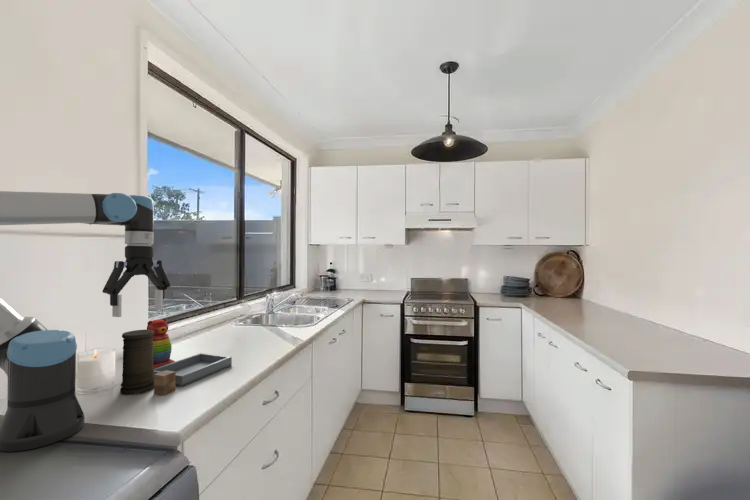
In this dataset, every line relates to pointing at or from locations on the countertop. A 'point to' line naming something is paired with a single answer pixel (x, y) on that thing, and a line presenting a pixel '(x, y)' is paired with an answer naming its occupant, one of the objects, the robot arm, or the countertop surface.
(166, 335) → the stacking bear
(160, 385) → the walnut block
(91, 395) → the countertop surface
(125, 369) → the container
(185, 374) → the tray
